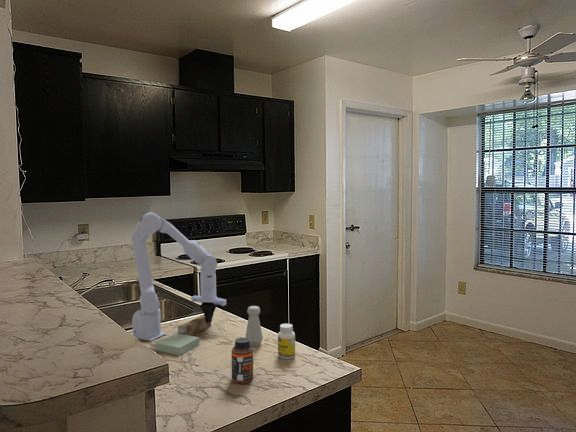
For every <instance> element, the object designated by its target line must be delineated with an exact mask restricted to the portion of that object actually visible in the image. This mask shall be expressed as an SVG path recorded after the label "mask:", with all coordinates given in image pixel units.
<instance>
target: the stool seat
mask: <svg viewBox="0 0 576 432" xmlns="http://www.w3.org/2000/svg"><path fill="white" fill-rule="evenodd" d="M198 346H200V337H198V336H194V335H192V336H188V335H183V334H178V332H176V333H173V334H171V335H169V336H166V337H165V338H162V339H161V340H159V341H156V342H155V351H157V352H161V353H168V354H173V355H176V356H182V355H184V354H185V353H187V352H188V351H191V350H192V349H194V348H196V347H198Z"/></svg>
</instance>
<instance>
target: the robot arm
mask: <svg viewBox="0 0 576 432" xmlns="http://www.w3.org/2000/svg"><path fill="white" fill-rule="evenodd" d="M157 231H158V232H159V233H163V234H167V235H168V236H170V237H171V239H173V240H174V241H176V242H177V243H178V244H180V246H182V247H183V253H184V254H185V255H186V256H188V257H189V259H191V260H192V261H194V262H195V263H196V264H198V266H199V267H200V276H199V277H200V281H199V283H200V284H199V285H200V295H193V296H190V297H191V298H190V299H191V302H192V303H193V302H195V303H201V304H199V307H200V309H201V310H202V312H203V315H205V318H206V322H207V323H210V322H211V323H212V322H213V316H214V313H215V311H216V308H217V306H219V305H220V306H221V307H225V306H226V305H227V299H226V298H221V297H218V296H217V274H216V268H217V267H218V262H217V259H216V257H215V256H213V255H212V254H211V253H210V251H209V250H206V249H205V248H204V247H203V246H201V242H200V241H198V240H197V241H196V240H195V239H193V240H192V239H191V240H189V239H188V238H187V237H186V236H185V235H184V234H183V233H181V231H179V229H177V228H176V226H174V225H173V224H172V223H171V222H169V221H167V220H166V219H164V218H162V217H161V216H159V215H158V214H157V213H155V212H151V211H149V212H146V213H144V214H143V215H142V216H141V217H140V218H139V219H138V222H137V224H136V226H135V228H134V230H133V232H132V234H131V236H130V237H131V238H130V239H131V244H132V251H133V257H134V261H135V267H136V272H137V278H138V284H139V289H140V295H139V298H138V299H139V303H140V309H138V310H136V311H135V312H134V313H133V316H132V319H131V320H132V322H131V323H132V325H131V326H132V335H133V336H135V337H136V338H135V339H139V340H145V341H149V342H152V341H154V340H157V339H159V338H161V337H163V336H165V335H167V332H165V331H162V326H161V325H162V323H161V308H160V305H161V303H160V300H159V298H158V294H157V293H156V291H155V287H154V282H153V281H154V280H153V276H152V271H151V264H150V259H149V254H148V253H149V252H148V249H147V248H148V247H147V241H148V239H149V238H150V237H151V235H153V234H154V233H156V232H157Z"/></svg>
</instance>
